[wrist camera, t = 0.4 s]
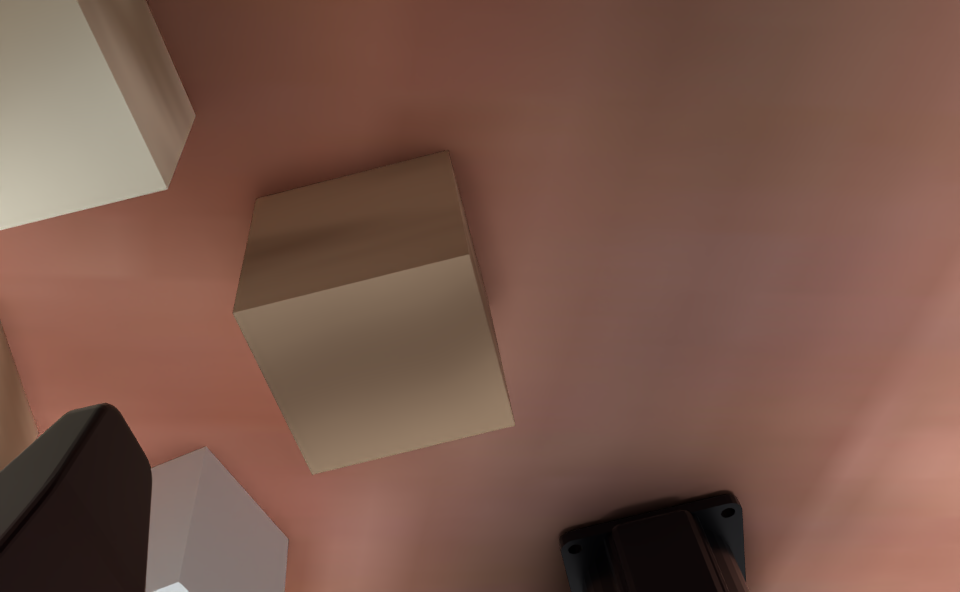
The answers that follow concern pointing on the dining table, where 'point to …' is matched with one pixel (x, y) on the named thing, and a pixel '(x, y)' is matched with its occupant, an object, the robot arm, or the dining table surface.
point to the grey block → (210, 532)
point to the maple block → (13, 409)
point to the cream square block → (85, 107)
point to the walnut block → (372, 314)
